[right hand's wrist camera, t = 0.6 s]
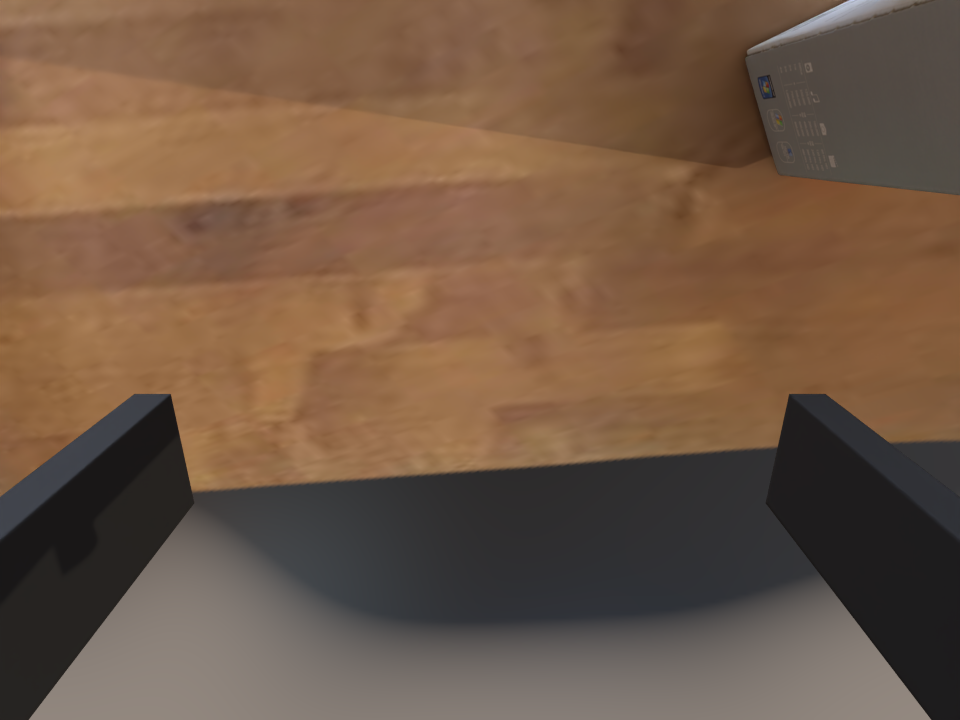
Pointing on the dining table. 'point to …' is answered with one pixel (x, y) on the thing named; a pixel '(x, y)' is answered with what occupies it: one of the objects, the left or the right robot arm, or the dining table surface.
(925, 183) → the hard drive box
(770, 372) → the dining table surface
